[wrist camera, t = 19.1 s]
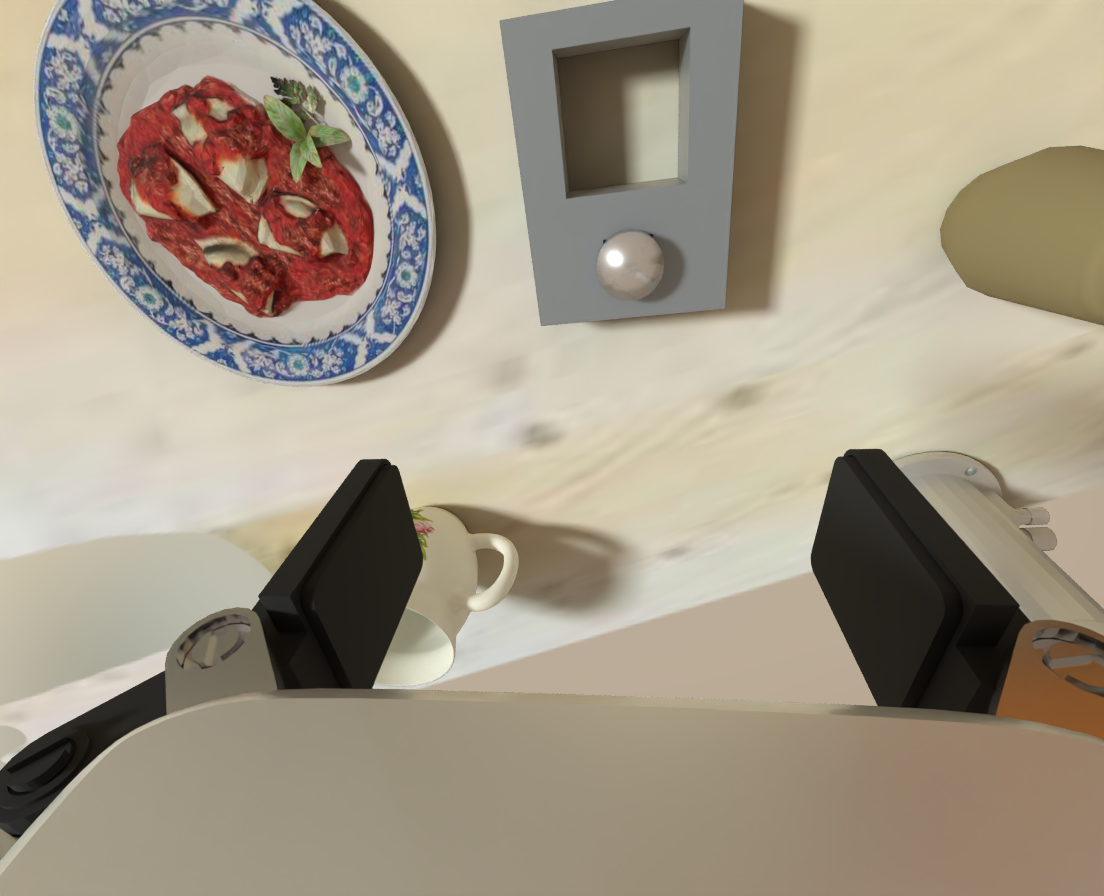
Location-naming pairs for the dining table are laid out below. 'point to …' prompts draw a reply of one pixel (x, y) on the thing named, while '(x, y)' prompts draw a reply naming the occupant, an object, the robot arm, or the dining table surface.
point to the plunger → (630, 265)
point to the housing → (653, 207)
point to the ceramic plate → (239, 180)
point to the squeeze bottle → (1034, 232)
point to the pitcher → (442, 597)
